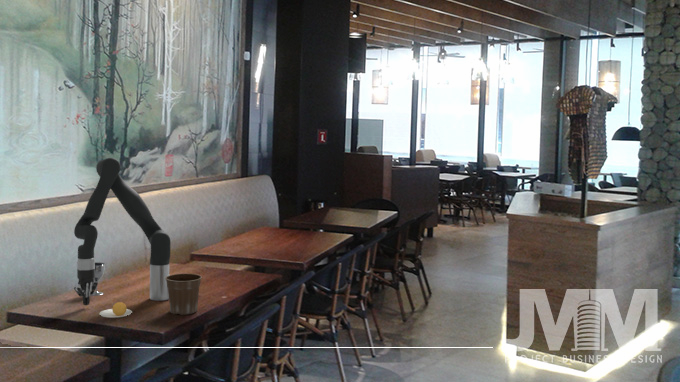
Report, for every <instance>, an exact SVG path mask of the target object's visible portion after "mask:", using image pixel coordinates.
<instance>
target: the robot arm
mask: <svg viewBox="0 0 680 382" xmlns="http://www.w3.org/2000/svg"><path fill="white" fill-rule="evenodd" d="M95 168H96V173H97V174H98V176H99V178H98V179H99V180H98V182H97V185H96V186H95V188H94V191H93V192H92V194H91V195H90V198H89V200H88V201H87V204H86V206H85V210H84V212H83V214H82V215H81V217H80V219H79V220H78V221H77V223H76V224H75V227H74V231H73V233H74V237H75V238H76V239H78V240H83V244H81V245H79V246H78V247H77V260H76V261H77V262H76V263H77V265H76V277H77V279H78V282H77V285H76V286H75V287H74V288H73V290H74V291H75V292H76V294H77V295H78V296H79V297H82V304H83V306H89V305H90V299H91V298H90V297H91V296H92V295H91V294H93V293H94V292H95V289H96V287H97V288H98V285H99V282H98V283H96V282H94V279H93V278H94V277H95V261H96V260H95V246H96V243H97V240H98V236H99V235H98V229H97V227H96V226H95V225H93V222H97V221H99V219H100V217H101V214H102V211H103V209H104V205H105V203H106V200H107V199H108V196H109V193H110V191H112V192H113V194H114V195H115V197H116V199H117V200H118V201H119V203H120V205H121V206H122V208H123V209H124V210H125V211H126V213H127V214H128V216H129V217H131V218H130V219H132V221H134V222H135V223H136V224H137V225H138V226H139V228H140V229H141V230H142V232H143V233H144V235H145V237H146V238H147V240H148V242H149V244H150V256H149V257H150V258H149V300H152V301H167V300H168V301H169V293H168V287H167V281H166V279H165V278H166V277H167V276H169V275H170V260H171V247H172V246H171V238H170V236H169V234H168V233H167V232H166V231H165V230H163V229H162V227H161V226H160V225H159V224H158V223H157V221H156V220H155V219H154V217H153V214H152V213H151V211H150V209H149V207H148V206H147V204H146V203H145V201H144V199H143V198H142V197H141V195H140V194H139V193H138V192H137V191H136V190H135V189H133V188H132V187H131V186H130V185H129V184H128V183H127V182H126V181H125V180H124V179H123V177H122V176H121V174H120V172H121V169H122V167H121V163H120V161H119V160H118V159H117V158H115V157H107V158H104V159H101V160H99V161H98V162H97V163H96V167H95Z"/></svg>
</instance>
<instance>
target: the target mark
mask: <svg viewBox="0 0 680 382" xmlns="http://www.w3.org/2000/svg"><path fill="white" fill-rule="evenodd" d="M131 313H132V314H133V311H132V309H128V308H127V309H126V312H125V313H124V314H123V315H121V316H117V315H115V314H114V313H113V311H112V308H110V309H109V308H108V309H105V310H104V309H103V310H101V311H100V312H99V316H100V315H101V317H102V318H123V317H127V315H128V316H130V315H131Z"/></svg>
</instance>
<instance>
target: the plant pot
mask: <svg viewBox="0 0 680 382" xmlns="http://www.w3.org/2000/svg"><path fill="white" fill-rule="evenodd" d="M202 278H203V277H202V275H200V274H198V273H197V274H196V273H175V274H169V276H167V277H166V278H165V279H166V281H167V287H168V293H169V299H168V302H169V303H168V304H169V312H170V314H172V315H178V314H179V315H182V316H183V315H184V316H185V315H193V314H195V313H196V312H197V311H198V305H199V292H200V286H201V281H202Z"/></svg>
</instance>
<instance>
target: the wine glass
mask: <svg viewBox="0 0 680 382" xmlns="http://www.w3.org/2000/svg"><path fill="white" fill-rule="evenodd" d="M105 266H106V265H105V262H98V261H97V262H95V277H94V278H93V279H94V282H96V283H98V284H99V281H100V280H101V278H102V277H103V276H104V273H105ZM103 295H105V294H104V292H103V291H99V290H98V286H97V287H96V289H95V291H94V293H93V294H91V295H90V296H96V297H97V296H103Z"/></svg>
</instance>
